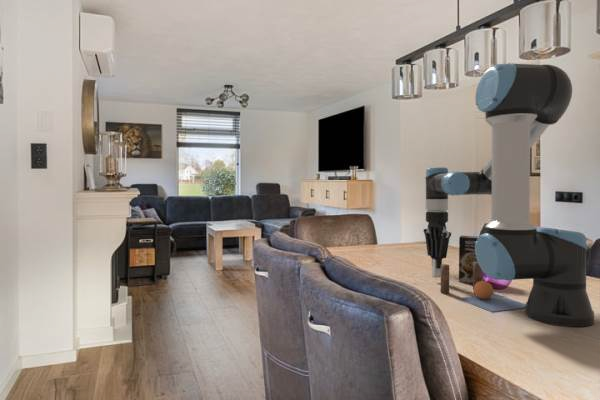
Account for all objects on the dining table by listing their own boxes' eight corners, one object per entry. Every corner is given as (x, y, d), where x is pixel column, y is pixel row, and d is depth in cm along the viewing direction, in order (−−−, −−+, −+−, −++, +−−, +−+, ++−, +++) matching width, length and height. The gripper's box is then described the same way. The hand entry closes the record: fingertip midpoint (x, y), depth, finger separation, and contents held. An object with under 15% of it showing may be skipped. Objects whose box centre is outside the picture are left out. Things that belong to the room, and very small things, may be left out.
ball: (481, 283, 127) (488, 300, 125) (467, 284, 126) (473, 302, 123) (493, 277, 123) (500, 295, 120) (478, 279, 121) (485, 297, 119)
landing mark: (532, 307, 115) (532, 306, 115) (491, 312, 110) (491, 311, 110) (494, 294, 128) (494, 294, 128) (457, 298, 124) (457, 298, 124)
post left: (451, 293, 130) (451, 265, 129) (444, 294, 129) (444, 266, 129) (445, 291, 132) (445, 264, 132) (439, 292, 132) (439, 264, 131)
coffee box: (458, 281, 145) (458, 237, 145) (460, 278, 151) (460, 235, 150) (486, 284, 141) (486, 238, 140) (487, 280, 147) (487, 236, 146)
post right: (483, 290, 134) (483, 262, 133) (476, 290, 133) (476, 263, 132) (477, 288, 136) (477, 261, 136) (471, 288, 135) (471, 262, 135)
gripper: (458, 211, 139) (457, 280, 140) (434, 209, 151) (434, 272, 152) (439, 212, 137) (439, 281, 138) (417, 210, 149) (417, 274, 150)
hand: (436, 276), depth 145 cm, fingers closed
